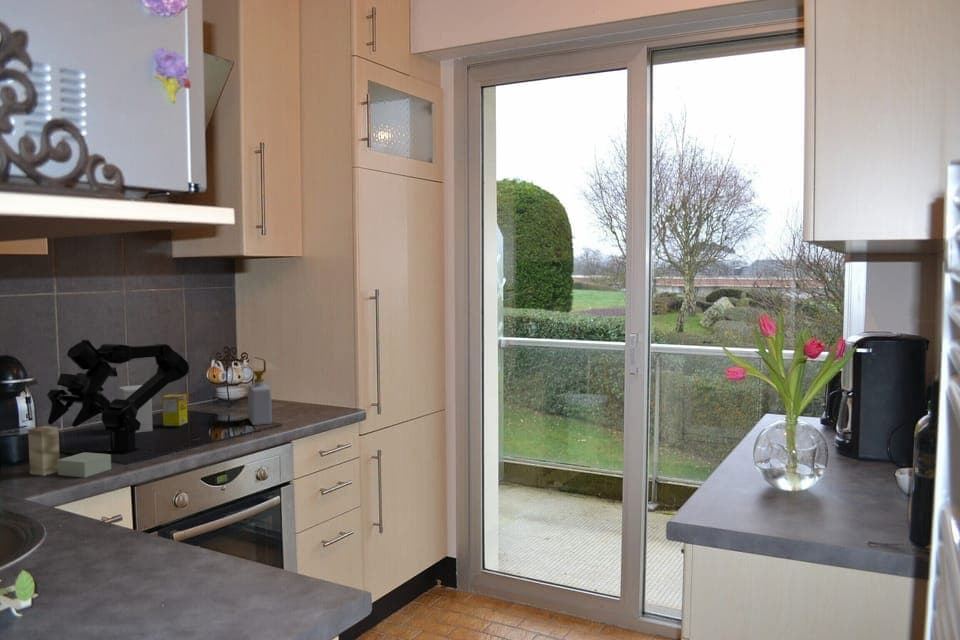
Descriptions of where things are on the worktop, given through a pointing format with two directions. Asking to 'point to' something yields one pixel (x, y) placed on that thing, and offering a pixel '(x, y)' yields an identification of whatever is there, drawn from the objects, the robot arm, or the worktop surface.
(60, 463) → the riser block
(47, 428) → the maple block
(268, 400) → the soap bottle
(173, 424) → the supplement box
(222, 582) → the worktop surface
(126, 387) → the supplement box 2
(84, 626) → the worktop surface
